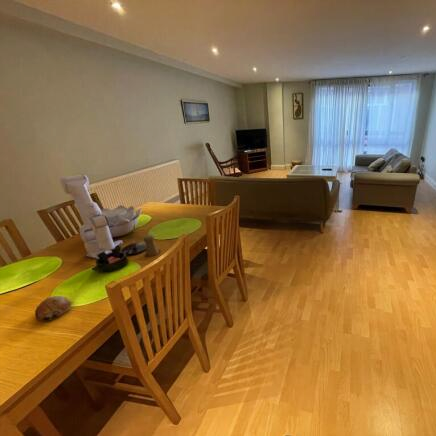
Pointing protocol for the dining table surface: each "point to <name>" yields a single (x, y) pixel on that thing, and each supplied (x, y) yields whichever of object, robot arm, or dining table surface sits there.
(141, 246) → the pan lid
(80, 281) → the dining table surface
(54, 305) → the bread roll
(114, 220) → the decorative bowl
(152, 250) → the cork
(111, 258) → the reddish pink block
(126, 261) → the pan
